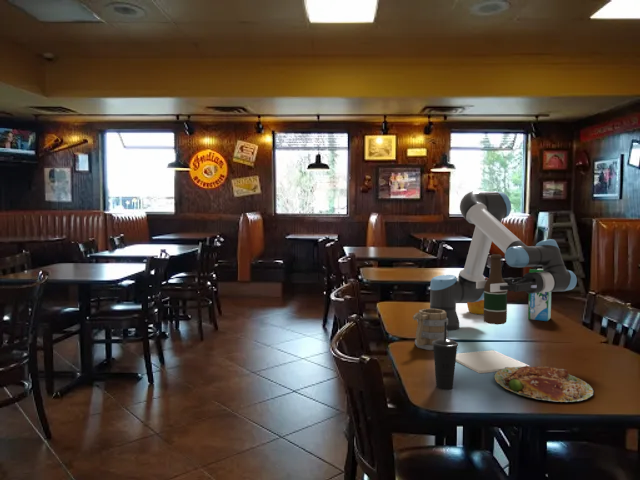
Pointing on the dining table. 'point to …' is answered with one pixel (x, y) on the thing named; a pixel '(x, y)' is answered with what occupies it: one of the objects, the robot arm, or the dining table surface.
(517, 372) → the rice dish
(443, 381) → the drinking cup
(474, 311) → the bucket of meat
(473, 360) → the square board
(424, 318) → the tankard
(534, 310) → the milk carton
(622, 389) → the dining table surface
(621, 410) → the dining table surface
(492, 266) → the beer bottle
